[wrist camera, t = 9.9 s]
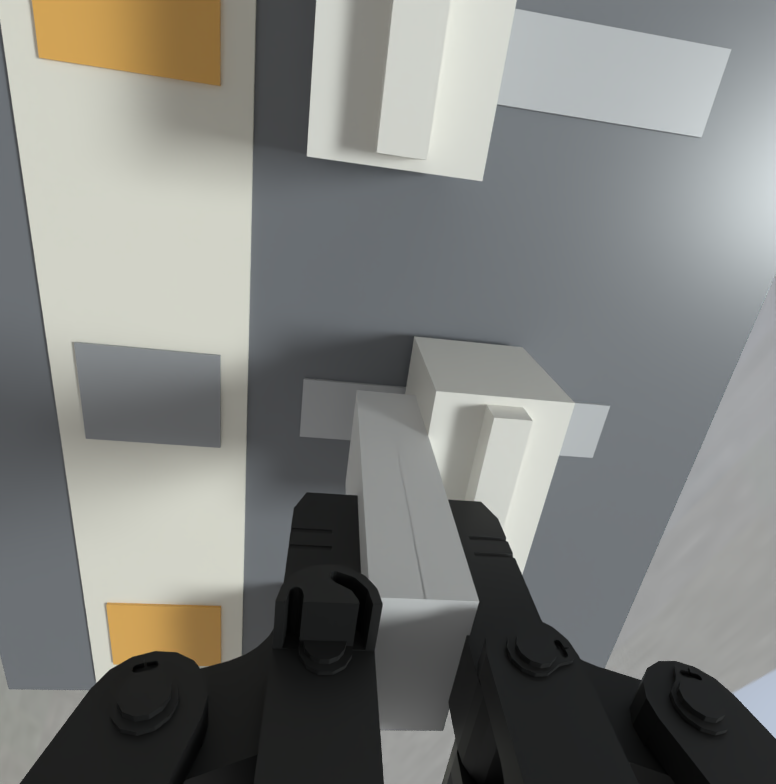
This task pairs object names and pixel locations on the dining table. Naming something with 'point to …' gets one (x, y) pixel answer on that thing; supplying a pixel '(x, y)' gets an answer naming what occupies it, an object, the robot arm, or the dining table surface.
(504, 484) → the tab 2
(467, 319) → the switch bank
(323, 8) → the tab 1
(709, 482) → the dining table surface
